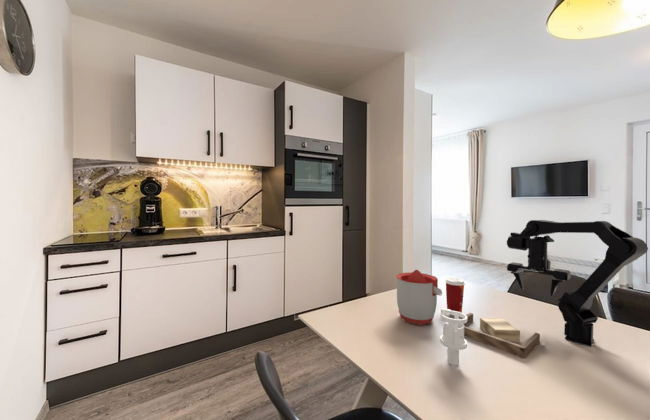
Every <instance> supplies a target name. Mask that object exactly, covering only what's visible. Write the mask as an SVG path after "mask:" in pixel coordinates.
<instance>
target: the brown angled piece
mask: <svg viewBox="0 0 650 420" xmlns="http://www.w3.org/2000/svg"><path fill="white" fill-rule="evenodd" d="M465 315H466V316H467V323H465V324H463V325H464V337H466V338H468V339H471V340H473V341H477V342H479V343H482V344H484V345H487V346H490V347H493V348H495V349H498V350H501V351H503V352H505V353H509V354H511V355H513V356H517V357H519V358H522V359H524V360H525V359H526V358H527V357H528V356H529V355H530V354H531V353H532V351H534V350H535V348H537V346H538V345H539V344H540V342H541V333H538V332H534V333H533V334H532V335H531V336H530V337H529V338H528V339H526V341H525V342H524V343H522V345H521V344H517V343H515V342H513V341H506V340H503V339H501V338H498V337H495V336H492V335H489V334H487V333H486V332H483V331H480V330H477V329H474V328H472V327H468V325H469V324H471V323H473V322H474V313H472V312H469V313H467V314H465ZM459 319H464V318H462V317H459ZM472 321H473V322H472ZM467 324H468V325H467Z"/></svg>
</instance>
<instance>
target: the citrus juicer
mask: <svg viewBox="0 0 650 420" xmlns="http://www.w3.org/2000/svg"><path fill="white" fill-rule="evenodd" d="M438 282H439V280H438V278H437V277H436V276H434V275H431V274H427V273H421V271H419V270H418V269H415V270H414V271H412V272H401V273H398V274H396V302H397V308H398V312H399V316H400V317H401V319H402V320H403V321H404V320H405V321H404V322H406V323H409V324H411V325H420V326H424V325H429V324H431V323H432V321H433V319H434V317H435V313H436V309H437V304H438V302H437V301H438V296H440V297H441V296H443V291H442V289H441V288H439V287H438V284H439V283H438Z"/></svg>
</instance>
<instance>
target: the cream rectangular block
mask: <svg viewBox="0 0 650 420" xmlns="http://www.w3.org/2000/svg"><path fill="white" fill-rule="evenodd" d="M479 328H480V329H481V328H482V329H483V330H482V329H481V330H482V331H484V333H486V334H489V335H492V336H495V337H498V338H501V339H503V340H506V341H509V342H520V341H521V330H520V329H518V328H517V327H516V326H514V325H512V324H511V323H510V322H508V321H507V320H505V319H504V318H503V317H501V318H500V317H480V318H479Z"/></svg>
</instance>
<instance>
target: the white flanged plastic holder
mask: <svg viewBox="0 0 650 420" xmlns="http://www.w3.org/2000/svg"><path fill="white" fill-rule="evenodd" d="M446 315H447V316H446ZM449 315H452V316H454V318H452V317H451V318H450V317H448V316H449ZM466 315H467V314H465V313H463V312H462V313H461V312H457V311H452V310H450V309H447V308H444V307H441V308H440V321H441V322H443V323H442V324H443V325H442V334H441V335H440V337H439V339H440V340H439V341H440V344H441V345H442V346H444V347H446V348H447V350H446V351H447V358H446V359H447V363H448V364H450V365H451V366H458V365H459V364H460V351H461V350H466V349H467V348H468V341H467V339H465V336H464V325H463V324H465V323H467V316H466ZM461 317H462V318H464V319H459V318H461Z"/></svg>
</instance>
